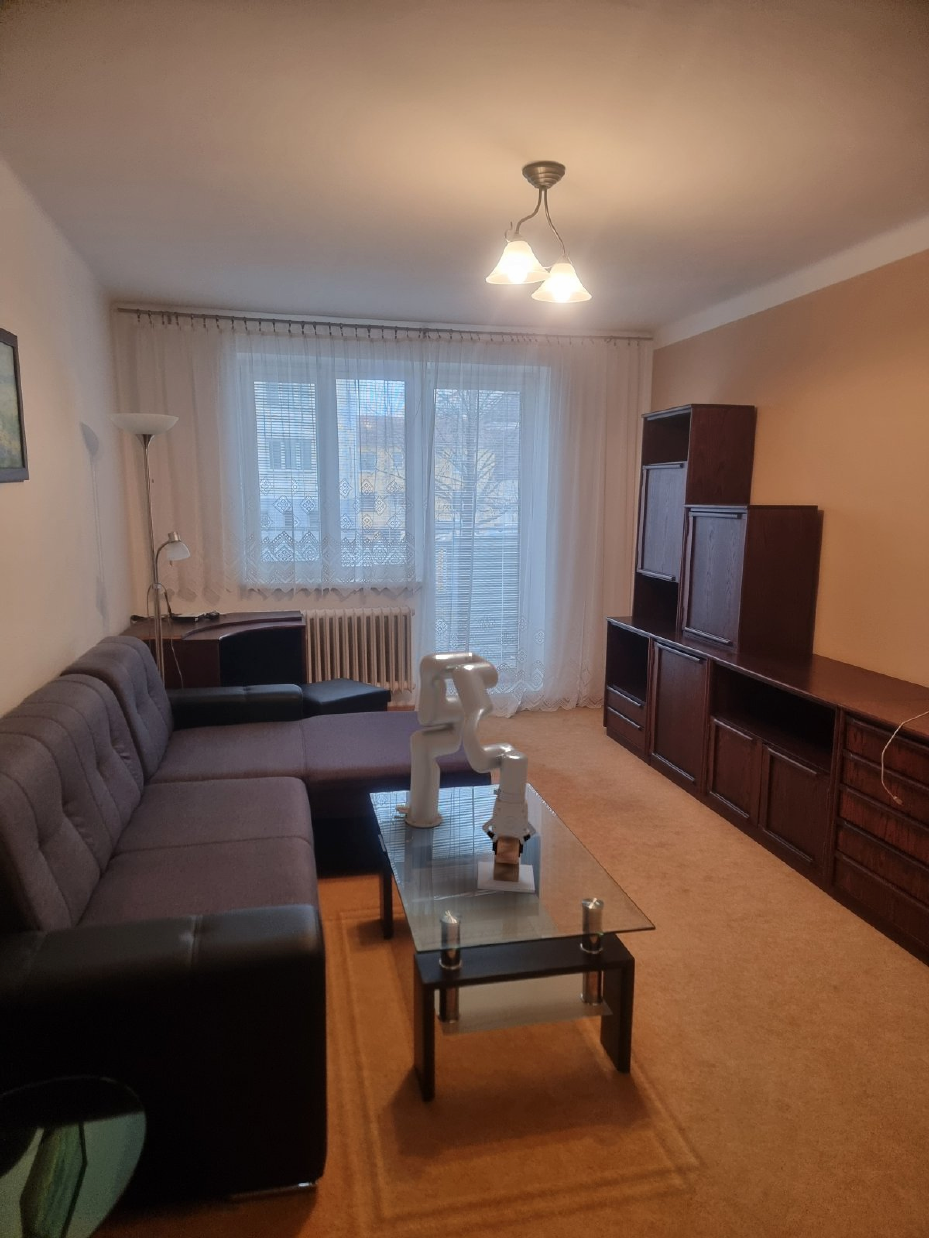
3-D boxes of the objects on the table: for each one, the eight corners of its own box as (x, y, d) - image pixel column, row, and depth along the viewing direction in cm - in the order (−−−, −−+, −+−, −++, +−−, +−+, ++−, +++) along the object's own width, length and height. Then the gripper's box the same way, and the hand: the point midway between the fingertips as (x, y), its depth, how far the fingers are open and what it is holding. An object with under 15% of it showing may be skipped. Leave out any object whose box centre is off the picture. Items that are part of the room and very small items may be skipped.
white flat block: (477, 888, 213) (478, 872, 212) (478, 864, 227) (479, 848, 226) (534, 892, 212) (535, 876, 211) (532, 868, 226) (533, 852, 225)
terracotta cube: (496, 862, 215) (498, 842, 214) (496, 852, 221) (497, 832, 220) (517, 863, 215) (519, 843, 214) (517, 853, 221) (518, 834, 220)
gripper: (481, 797, 212) (476, 858, 215) (543, 802, 211) (538, 862, 214) (481, 787, 219) (477, 845, 222) (541, 791, 219) (536, 850, 222)
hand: (507, 853), depth 218 cm, fingers closed on terracotta cube, 6 cm apart
